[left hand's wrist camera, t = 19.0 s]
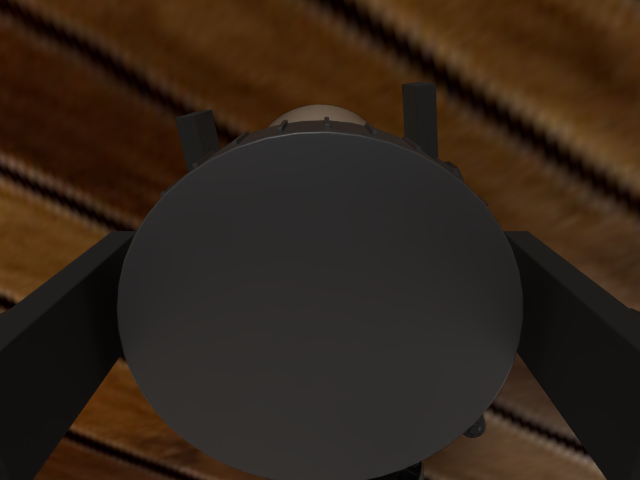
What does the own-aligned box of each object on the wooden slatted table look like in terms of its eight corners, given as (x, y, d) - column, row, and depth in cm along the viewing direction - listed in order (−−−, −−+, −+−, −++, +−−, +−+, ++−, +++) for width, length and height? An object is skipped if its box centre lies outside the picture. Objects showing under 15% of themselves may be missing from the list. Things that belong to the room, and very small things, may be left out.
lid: (165, 422, 14) (138, 483, 12) (129, 109, 10) (82, 118, 8) (463, 429, 14) (488, 491, 12) (521, 122, 11) (570, 134, 8)
